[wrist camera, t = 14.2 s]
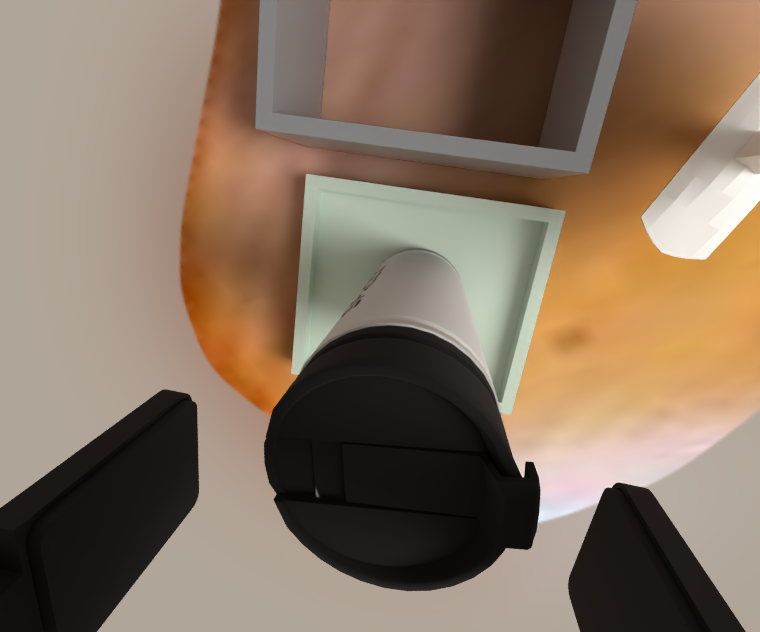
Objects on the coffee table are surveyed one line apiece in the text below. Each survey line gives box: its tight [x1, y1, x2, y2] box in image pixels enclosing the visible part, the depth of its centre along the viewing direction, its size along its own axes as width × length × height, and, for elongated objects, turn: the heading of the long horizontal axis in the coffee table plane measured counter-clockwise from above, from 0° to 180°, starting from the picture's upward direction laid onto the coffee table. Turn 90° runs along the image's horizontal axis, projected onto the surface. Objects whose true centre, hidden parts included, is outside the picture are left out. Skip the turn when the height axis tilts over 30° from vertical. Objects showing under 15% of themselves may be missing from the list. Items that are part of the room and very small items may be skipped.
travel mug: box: [264, 248, 540, 591], centre depth 18 cm, size 6×7×20 cm
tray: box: [291, 174, 566, 415], centre depth 28 cm, size 14×16×2 cm
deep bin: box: [255, 0, 637, 179], centre depth 20 cm, size 13×16×8 cm
